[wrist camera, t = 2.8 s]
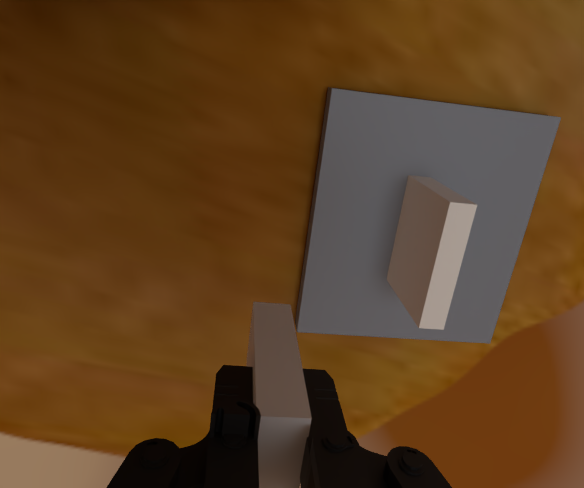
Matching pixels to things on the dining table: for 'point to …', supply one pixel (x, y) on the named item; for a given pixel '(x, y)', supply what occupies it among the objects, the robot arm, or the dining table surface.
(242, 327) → the dining table surface
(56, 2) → the dining table surface
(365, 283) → the board
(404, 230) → the tile
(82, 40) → the dining table surface
